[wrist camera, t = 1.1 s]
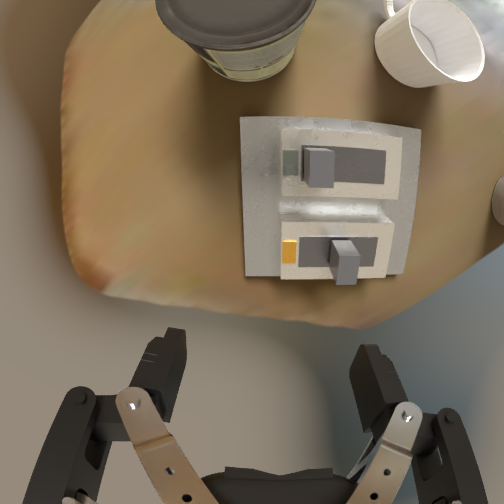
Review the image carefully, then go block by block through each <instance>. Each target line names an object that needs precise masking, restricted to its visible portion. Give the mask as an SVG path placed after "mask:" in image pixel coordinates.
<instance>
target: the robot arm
mask: <svg viewBox="0 0 504 504" xmlns="http://www.w3.org/2000/svg"><path fill="white" fill-rule="evenodd" d="M186 360H187V349H186V332H185V330H183V329H177V328H170V327H169V328H168V329H167V331H166V334H165V336H164V338H162V337H155V338H154V339H153V340H152V341H150V342H149V343H148V345H147V347H146V349H145V352H144V354H143V356H142V358H141V361H140V363H139V365H138V367H137V369H136V371H135V374H134V376H133V378H132V381H131V383H130V385H129V387H128V388H125V389H123V390H121V391H120V392H119V393H118V394H117V395H95V394H94V392H93V391H92V390H91V389H89V388H87V387H83V386H82V387H81V386H79V387H75V388H72V389H71V390H70V391H68V392H67V394H66V396H65V398H64V400H63V402H62V404H61V406H60V408H59V410H58V413H57V415H56V417H55V419H54V421H53V424H52V426H51V428H50V430H49V433H48V435H47V438H46V440H45V442H44V445H43V447H42V450H41V452H40V455H39V457H38V460H37V462H36V465H35V468H34V471H33V473H32V476H31V479H30V482H29V485H28V488H27V491H26V494H25V497H24V500H23V504H97V503H96V500H97V496H98V492H99V488H100V484H101V480H102V476H103V473H104V469H105V465H106V461H107V458H108V454H109V450H110V448H111V444H112V441H131V442H132V444H133V446H134V449H135V451H136V454H137V456H138V458H139V460H140V462H141V464H142V466H143V468H144V470H145V471H146V474H147V475H148V477H149V479H150V481H151V483H152V485H153V486H154V488H155V490H156V492H157V493H158V495H159V497H160V498H161V500H162V502H163V503H164V504H391V503H392V501H393V499H394V498H395V496H396V494H397V492H398V490H399V487H400V485H401V483H402V481H403V479H404V477H405V474H406V472H407V470H408V468H409V465H410V463H411V464H412V469H413V473H414V479H415V484H416V489H417V494H418V500H419V504H488V501H487V497H486V493H485V489H484V485H483V482H482V478H481V475H480V471H479V468H478V465H477V462H476V459H475V456H474V453H473V450H472V447H471V445H470V442H469V439H468V436H467V433H466V430H465V428H464V426H463V423H462V420H461V418H460V416H459V414H458V413H457V412H456V411H455V410H453V409H451V408H443V409H441V410H440V411H439V412H438V414H437V415H436V414H428V413H422V411H421V410H420V408H419V407H418V406H417V405H416V404H414V403H411V402H409V401H408V399H407V396H406V394H405V391H404V389H403V387H402V384H401V382H400V379H399V378H398V375H397V372H395V371H396V370H395V368H394V365H393V363H392V361H390V359H389V358H388V357H387V356H386V355H382V354H381V352H380V350H379V347H378V346H377V345H376V344H362V345H360V347H359V349H358V351H357V353H356V356H355V358H354V360H353V362H352V365H351V367H350V372H349V377H350V381H351V385H352V389H353V393H354V396H355V400H356V404H357V408H358V412H359V416H360V420H361V424H362V428H363V432H364V433H368V432H372V433H373V437H372V438H371V440H370V442H369V443H368V445H367V447H366V449H365V451H364V452H363V454H362V456H361V458H360V459H359V461H358V462H357V464H356V466H355V467H354V469H353V470H352V471H351V472H350V474H349V475H348V476H347V477H343V476H340V475H336V474H333V471H332V468H324V469H307V470H303V471H299V472H295V473H291V474H286V475H280V476H279V475H275V474H270V473H266V472H262V471H259V470H255V469H247V468H235V467H225V472H221V473H215V474H211V475H208V476H205V477H203V478H200V477H199V476H198V474H197V473H196V471H195V470H194V468H193V467H192V465H191V464H190V462H189V461H188V459H187V457H186V456H185V454H184V453H183V451H182V450H181V448H180V446H179V445H178V443H177V441H176V440H175V438H174V437H173V435H171V434H170V433H169V432H168V430H167V428H166V426H165V425H164V423H163V422H168V423H169V422H170V419H171V416H172V412H173V408H174V405H175V401H176V398H177V394H178V390H179V387H180V383H181V380H182V376H183V373H184V369H185V366H186ZM438 448H439V451H440V454H441V458H442V463H443V464H441V460H440V457H439V453H438V450H437V449H438Z"/></svg>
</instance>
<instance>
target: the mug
mask: <svg viewBox="0 0 504 504" xmlns="http://www.w3.org/2000/svg"><path fill="white" fill-rule="evenodd" d="M392 5H393V0H384V9H385V12H386V15H387V17H388V18H389V19H388V20H387V21H385V22H384V23H383V24H382V25H381V26H380V27H379V28H378V30H377V32H376V34H375V49H376V53H377V56H378V58H379V60H380V62H381V64H382V65H383V67H384V68H385V69H386V70H387V72H388V73H389V74H390V75H391V76H392V77H394V78H395V79H396V80H398V81H399V82H401V83H403V84H405V85H407V86H410V87H414V88H422V87H429V86H435V85H442V84H449V83H457V82H466V81H472V80H474V79H476V78H477V77H478V76H479V75H480V73H481V72H482V70H483V66H484V57H485V56H484V48H483V45H482V41H481V38H480V36H479V34H478V32H477V30H476V28H475V27H474V25H473V23H472V22H471V21H470V19H469V18H468V17H467V16H466V15H465V14H464V13H463V12H462V11H461V10H460V9H459V8H458V7H457V6H455V5H454V4H452V3H451V2H449V1H448V0H413V1H412V2H410V3H409V4H408V5H406V6H405V7H404V8H402V9H401V10H400V11H398V12H397V13H396V14H395V12H394V11H393V6H392Z"/></svg>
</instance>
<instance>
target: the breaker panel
mask: <svg viewBox="0 0 504 504" xmlns="http://www.w3.org/2000/svg"><path fill="white" fill-rule="evenodd" d="M240 140H241V170H242V198H243V225H244V250H245V275H246V276H280V277H281V279H333V276H332V273H331V271H330V268H329V263H330V253H331V242H332V240H351V242H352V243H353V245H354V246H355V248H356V249H357V251H358V252H359V254H360V255H361V257H360V264H359V270H358V277H357V278H385V277H386V275H389V274H403V271H404V267H405V262H406V257H407V252H408V247H409V242H410V236H411V230H412V224H413V218H414V211H415V204H416V196H417V187H418V177H419V165H420V150H421V129H415V128H409V127H403V126H397V125H390V124H383V123H376V122H367V121H358V120H347V119H335V118H319V117H292V116H257V117H240ZM304 147H305V148H327V149H329V150H332V151H335V165H334V188H309V186H308V185H307V184H306V182H305V181H304Z"/></svg>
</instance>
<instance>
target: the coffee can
mask: <svg viewBox="0 0 504 504" xmlns="http://www.w3.org/2000/svg"><path fill="white" fill-rule="evenodd" d="M315 2H316V0H155V3H156V9H157V12H158V15H159V17H160V19H161V21H162V22H163V24H164V25H165V26H166V27H167V28H168V29H169V30H170V31H171V32H172V33H173V34H174V35H176V36H177V37H178V38H180V39H181V40H183V41H185V42H186V43H187V44H188V45H189V46H190V47H191V48H192V49H193V50H194V51H195V52H197V53H198V54H199V55H200V56H201V57H202V58H203V59H204V60H205V61H206V62H207V64H208V65H209V66H210V67H211V68H212V69H213V70H214V71H215V72H217V73H218V74H220V75H222V76H223V77H226V78H228V79H231V80H235V81H241V82H253V81H260V80H264V79H267V78H269V77H271V76H273V75H275V74H277V73H278V72H280V71H281V70H282V69H284V68H285V67H286V66H287V64H288V63H289V62H290V60H291V59H292V57H293V55H294V52H295V49H296V45H297V42H298V39H299V37H300V34H301V32H302V29H303V26H304V24H305V21H306V19H307V17H308V16H309V15H310V13H311V11H312V9H313V7H314V5H315Z"/></svg>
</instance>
